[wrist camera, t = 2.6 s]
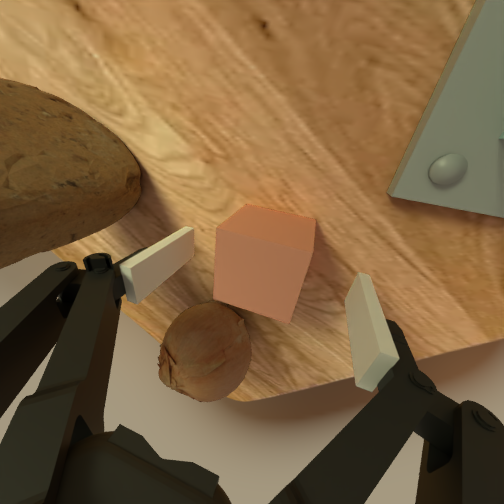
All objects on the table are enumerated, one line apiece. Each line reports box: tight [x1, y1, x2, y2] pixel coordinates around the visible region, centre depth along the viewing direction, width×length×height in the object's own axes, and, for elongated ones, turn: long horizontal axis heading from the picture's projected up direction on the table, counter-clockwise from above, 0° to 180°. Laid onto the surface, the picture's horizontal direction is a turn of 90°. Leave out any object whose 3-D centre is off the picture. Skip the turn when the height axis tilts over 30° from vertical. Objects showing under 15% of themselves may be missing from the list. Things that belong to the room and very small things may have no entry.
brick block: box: [213, 204, 316, 324], centre depth 16 cm, size 6×6×6 cm
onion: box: [158, 300, 251, 402], centre depth 22 cm, size 10×9×10 cm
